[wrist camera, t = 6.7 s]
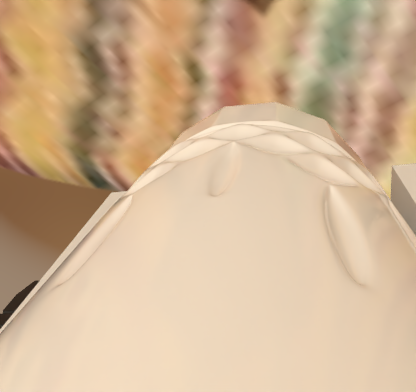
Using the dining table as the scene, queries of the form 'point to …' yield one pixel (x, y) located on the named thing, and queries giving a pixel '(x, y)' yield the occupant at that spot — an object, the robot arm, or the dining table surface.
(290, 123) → the white cup
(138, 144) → the dining table surface
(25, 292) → the robot arm
